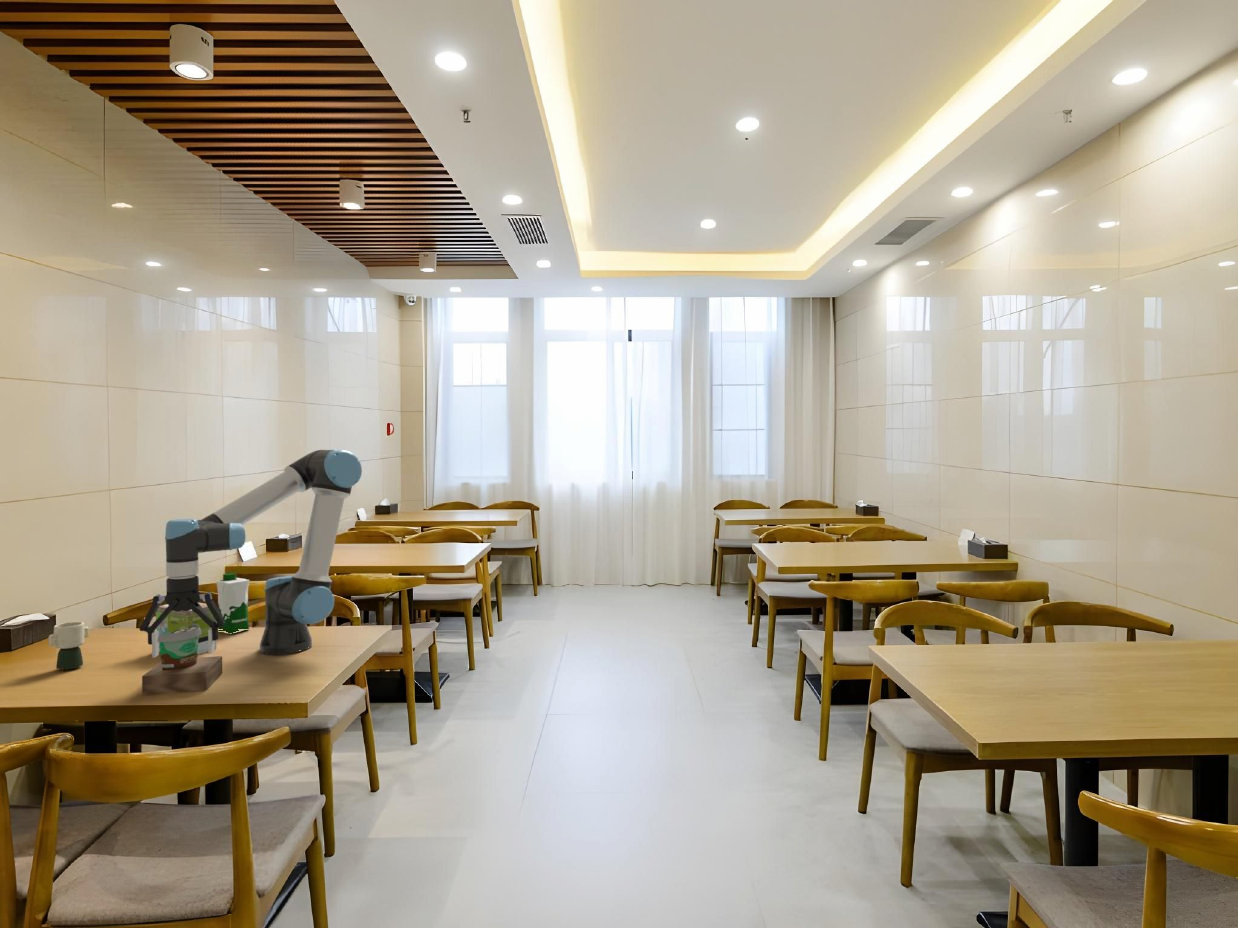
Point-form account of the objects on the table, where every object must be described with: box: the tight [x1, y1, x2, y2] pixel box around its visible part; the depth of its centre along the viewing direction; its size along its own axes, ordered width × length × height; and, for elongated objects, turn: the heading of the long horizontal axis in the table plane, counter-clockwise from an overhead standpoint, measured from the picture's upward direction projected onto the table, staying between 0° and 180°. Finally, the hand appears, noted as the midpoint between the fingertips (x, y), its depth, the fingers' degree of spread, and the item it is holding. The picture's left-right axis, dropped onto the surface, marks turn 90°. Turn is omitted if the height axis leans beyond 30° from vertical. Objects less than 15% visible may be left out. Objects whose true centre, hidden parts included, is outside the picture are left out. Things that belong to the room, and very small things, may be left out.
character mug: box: [48, 621, 90, 671], centre depth 211 cm, size 11×7×13 cm, turn 161°
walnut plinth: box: [141, 655, 223, 696], centre depth 197 cm, size 15×15×5 cm
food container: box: [157, 624, 201, 670], centre depth 197 cm, size 12×6×10 cm, turn 170°
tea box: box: [155, 602, 217, 656], centre depth 229 cm, size 15×10×15 cm
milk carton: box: [215, 572, 251, 633], centre depth 254 cm, size 9×9×20 cm
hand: (183, 654), depth 197 cm, fingers open, 13 cm apart
